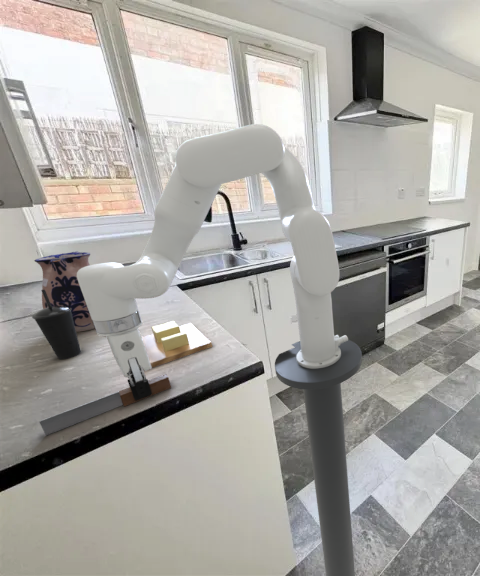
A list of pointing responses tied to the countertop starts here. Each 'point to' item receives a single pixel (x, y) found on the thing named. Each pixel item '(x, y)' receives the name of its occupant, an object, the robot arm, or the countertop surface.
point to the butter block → (165, 330)
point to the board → (161, 357)
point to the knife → (99, 406)
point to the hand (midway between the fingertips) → (142, 393)
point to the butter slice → (174, 341)
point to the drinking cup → (58, 329)
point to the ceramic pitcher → (66, 285)
